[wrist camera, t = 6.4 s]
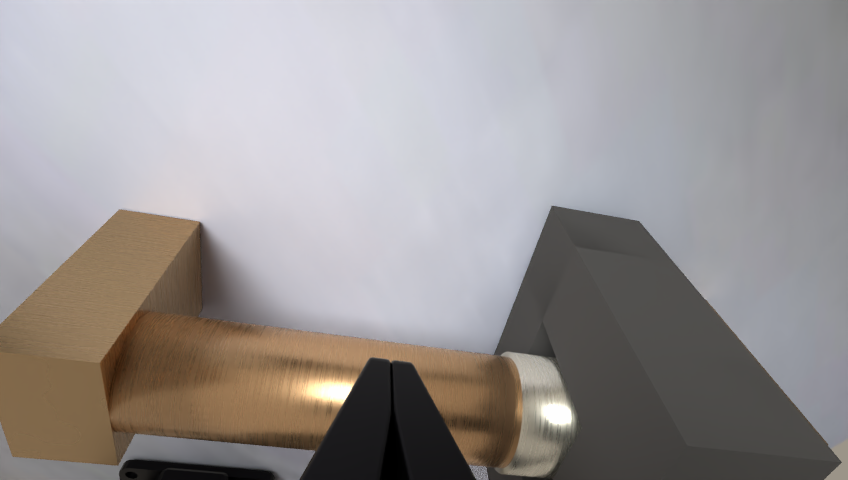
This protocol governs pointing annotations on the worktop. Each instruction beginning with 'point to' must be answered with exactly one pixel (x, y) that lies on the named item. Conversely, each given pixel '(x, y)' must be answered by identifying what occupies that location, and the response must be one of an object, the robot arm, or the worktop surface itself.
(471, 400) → the square head rod
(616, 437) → the dark grey square ring
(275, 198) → the worktop surface
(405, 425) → the robot arm
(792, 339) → the worktop surface
